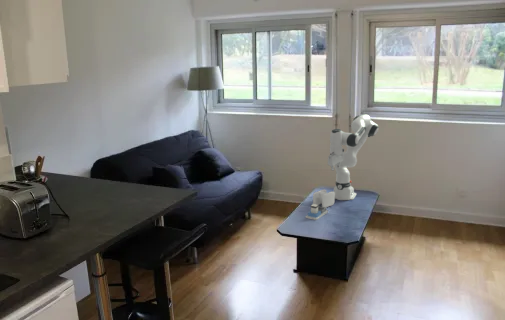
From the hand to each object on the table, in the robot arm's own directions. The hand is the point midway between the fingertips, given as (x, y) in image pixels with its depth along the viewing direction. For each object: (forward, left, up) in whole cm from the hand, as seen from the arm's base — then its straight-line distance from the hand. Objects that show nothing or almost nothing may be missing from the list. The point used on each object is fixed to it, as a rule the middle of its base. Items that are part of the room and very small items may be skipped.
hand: (335, 168), depth 341 cm
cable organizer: (-7, -13, -34) cm, 37 cm away
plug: (+18, -8, -33) cm, 38 cm away
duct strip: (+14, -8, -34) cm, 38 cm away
